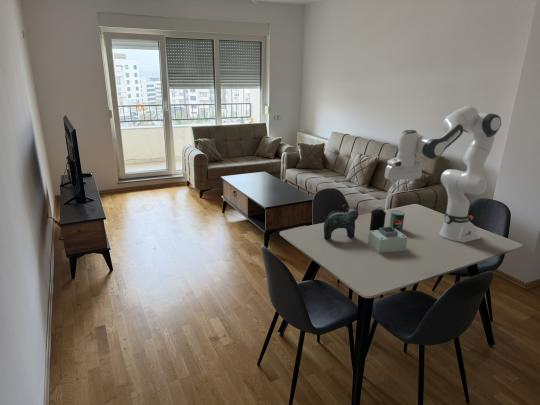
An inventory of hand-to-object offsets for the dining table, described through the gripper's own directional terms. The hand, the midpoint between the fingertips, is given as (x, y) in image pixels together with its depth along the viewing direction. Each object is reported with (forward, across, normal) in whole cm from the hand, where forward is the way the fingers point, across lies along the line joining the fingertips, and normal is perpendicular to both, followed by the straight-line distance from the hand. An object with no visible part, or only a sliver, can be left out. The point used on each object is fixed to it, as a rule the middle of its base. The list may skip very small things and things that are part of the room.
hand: (401, 186), depth 201 cm
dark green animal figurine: (+33, +27, -13) cm, 45 cm away
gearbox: (+33, +7, +4) cm, 34 cm away
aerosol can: (+33, +7, -8) cm, 35 cm away
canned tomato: (+33, -12, -18) cm, 40 cm away
